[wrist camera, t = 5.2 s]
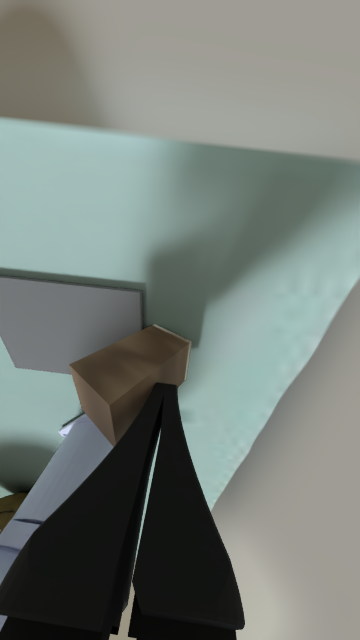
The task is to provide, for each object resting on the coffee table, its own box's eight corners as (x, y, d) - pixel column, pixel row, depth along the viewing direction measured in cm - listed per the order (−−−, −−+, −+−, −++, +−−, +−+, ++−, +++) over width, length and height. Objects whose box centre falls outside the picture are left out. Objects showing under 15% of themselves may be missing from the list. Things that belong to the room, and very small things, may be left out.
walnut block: (191, 341, 12) (109, 405, 7) (186, 378, 14) (117, 451, 9) (154, 323, 14) (68, 364, 9) (153, 358, 16) (82, 408, 11)
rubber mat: (142, 290, 13) (140, 292, 13) (143, 379, 18) (142, 383, 17) (-22, 272, 14) (-30, 274, 13) (21, 363, 18) (15, 367, 17)
